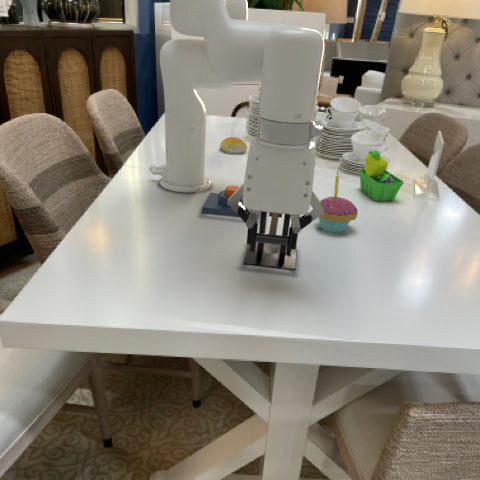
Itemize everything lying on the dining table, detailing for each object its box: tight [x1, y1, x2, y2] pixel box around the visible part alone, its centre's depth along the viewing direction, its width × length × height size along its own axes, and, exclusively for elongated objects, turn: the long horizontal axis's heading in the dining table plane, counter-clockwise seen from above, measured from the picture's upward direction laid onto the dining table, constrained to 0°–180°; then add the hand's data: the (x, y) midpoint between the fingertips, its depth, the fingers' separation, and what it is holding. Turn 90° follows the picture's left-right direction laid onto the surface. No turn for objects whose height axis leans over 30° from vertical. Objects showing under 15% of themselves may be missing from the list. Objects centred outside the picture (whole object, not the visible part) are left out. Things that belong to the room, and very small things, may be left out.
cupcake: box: [318, 171, 359, 233], centre depth 96 cm, size 9×8×12 cm
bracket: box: [243, 211, 298, 271], centre depth 83 cm, size 10×9×12 cm
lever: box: [255, 212, 288, 245], centre depth 77 cm, size 12×5×2 cm, turn 173°
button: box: [225, 185, 240, 197], centre depth 102 cm, size 4×4×2 cm
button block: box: [201, 189, 260, 220], centre depth 104 cm, size 12×10×4 cm
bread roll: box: [219, 136, 248, 155], centre depth 149 cm, size 8×9×4 cm
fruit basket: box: [358, 149, 405, 202], centre depth 119 cm, size 11×9×11 cm
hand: (270, 249), depth 75 cm, fingers closed on lever, 5 cm apart
